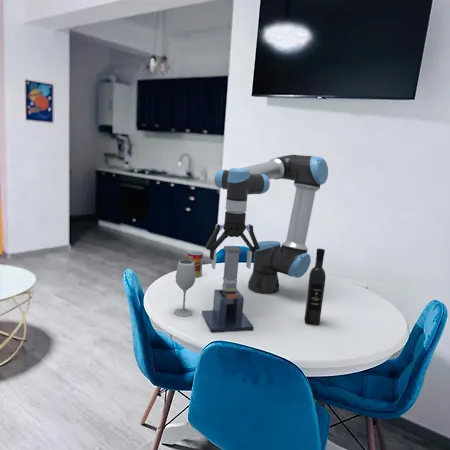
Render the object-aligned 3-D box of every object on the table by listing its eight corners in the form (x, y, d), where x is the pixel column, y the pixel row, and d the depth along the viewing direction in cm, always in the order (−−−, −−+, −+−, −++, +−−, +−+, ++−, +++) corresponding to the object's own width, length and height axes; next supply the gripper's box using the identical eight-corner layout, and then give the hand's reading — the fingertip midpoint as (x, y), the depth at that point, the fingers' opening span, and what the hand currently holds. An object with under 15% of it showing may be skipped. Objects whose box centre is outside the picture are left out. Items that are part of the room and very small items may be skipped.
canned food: (185, 272, 208) (186, 250, 206) (200, 272, 210) (201, 250, 207) (187, 277, 200) (188, 254, 198) (202, 277, 202) (204, 254, 200)
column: (232, 299, 155) (237, 246, 151) (236, 304, 151) (241, 249, 146) (219, 299, 154) (224, 246, 150) (223, 304, 149) (227, 249, 145)
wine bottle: (319, 326, 156) (329, 252, 151) (304, 324, 157) (314, 250, 151) (318, 320, 162) (327, 248, 156) (303, 318, 163) (312, 246, 157)
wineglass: (196, 311, 162) (199, 260, 158) (188, 318, 155) (191, 266, 151) (178, 307, 164) (181, 257, 160) (170, 314, 157) (173, 262, 153)
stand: (240, 312, 164) (242, 282, 161) (253, 330, 149) (256, 298, 146) (201, 314, 159) (203, 283, 157) (211, 332, 144) (213, 299, 142)
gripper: (264, 210, 152) (259, 264, 157) (199, 208, 146) (196, 264, 150) (271, 214, 145) (266, 270, 150) (204, 212, 139) (200, 271, 143)
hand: (231, 267), depth 150 cm, fingers open, 13 cm apart
